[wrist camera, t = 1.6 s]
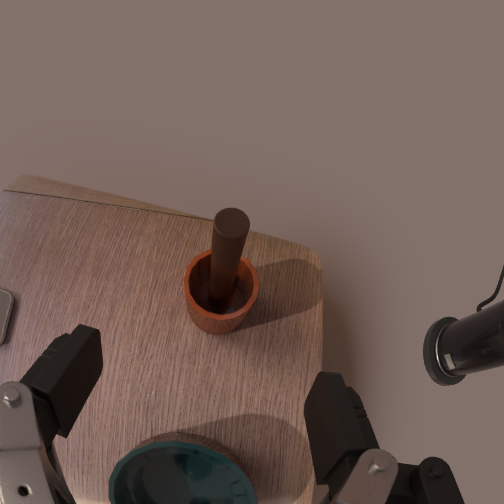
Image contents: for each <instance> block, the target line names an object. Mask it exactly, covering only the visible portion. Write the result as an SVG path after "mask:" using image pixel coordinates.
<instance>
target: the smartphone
mask: <svg viewBox="0 0 504 504" xmlns="http://www.w3.org/2000/svg"><path fill="white" fill-rule="evenodd" d="M13 303H14V299H13V296H12V295H11V294H9V293H8V292H5V291H3V290H0V344H2V343H3V342H4V340H5V336H6V331H7V327H8V322H9V318H10V314H11V310H12V307H13Z"/></svg>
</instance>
